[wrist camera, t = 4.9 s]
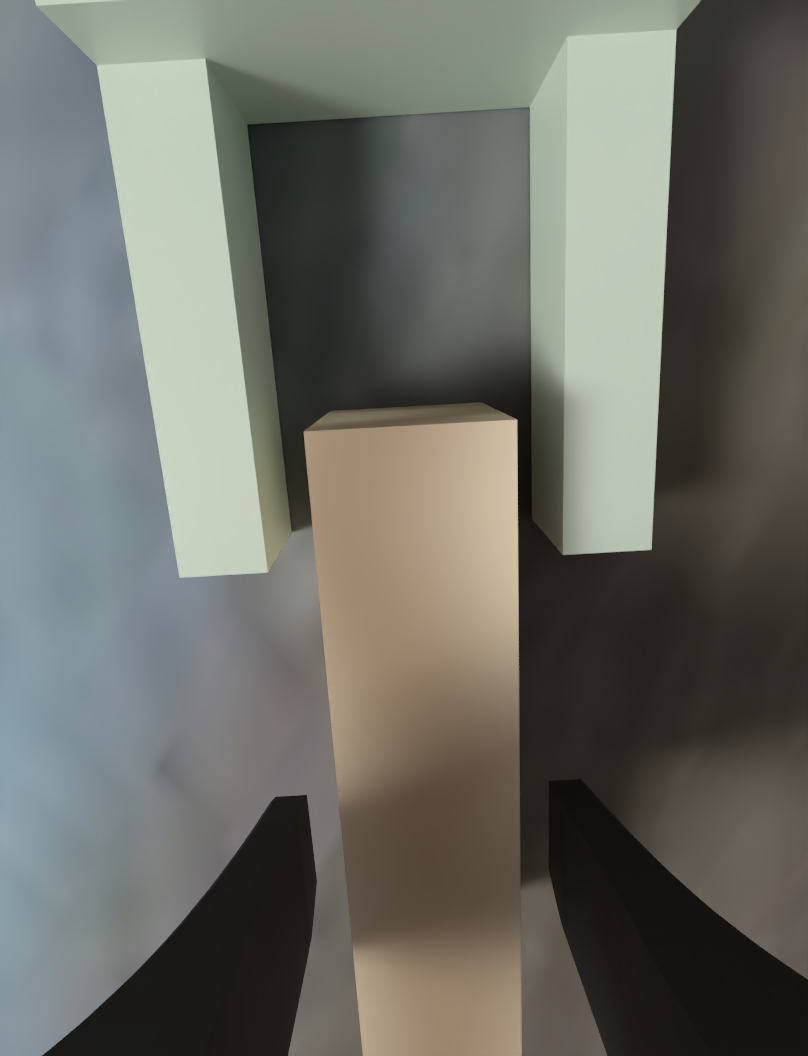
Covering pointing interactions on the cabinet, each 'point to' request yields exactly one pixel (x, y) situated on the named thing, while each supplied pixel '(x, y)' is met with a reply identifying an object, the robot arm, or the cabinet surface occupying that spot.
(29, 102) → the cabinet surface
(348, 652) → the tan wooden block
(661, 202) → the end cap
